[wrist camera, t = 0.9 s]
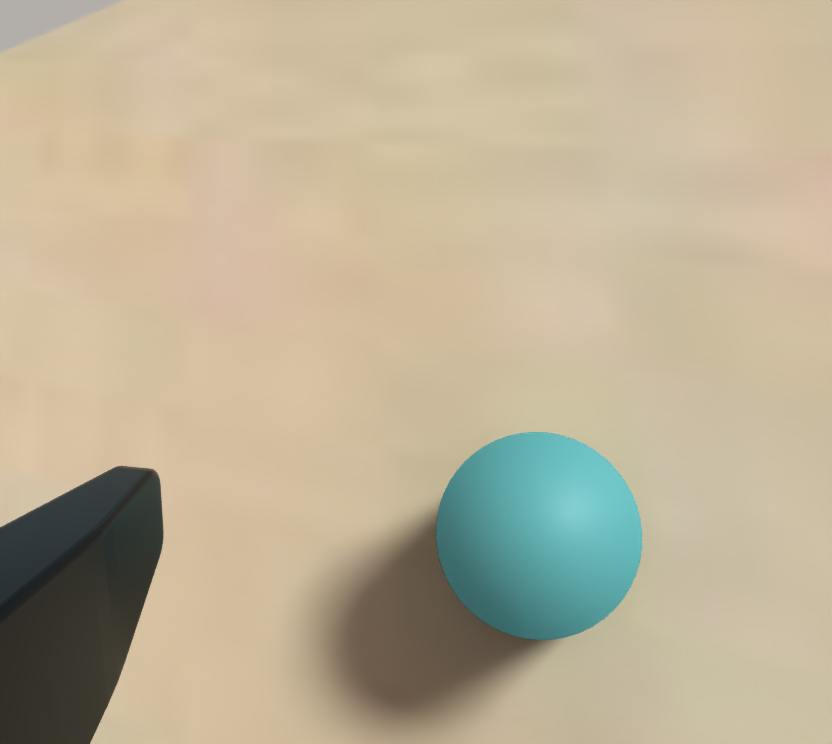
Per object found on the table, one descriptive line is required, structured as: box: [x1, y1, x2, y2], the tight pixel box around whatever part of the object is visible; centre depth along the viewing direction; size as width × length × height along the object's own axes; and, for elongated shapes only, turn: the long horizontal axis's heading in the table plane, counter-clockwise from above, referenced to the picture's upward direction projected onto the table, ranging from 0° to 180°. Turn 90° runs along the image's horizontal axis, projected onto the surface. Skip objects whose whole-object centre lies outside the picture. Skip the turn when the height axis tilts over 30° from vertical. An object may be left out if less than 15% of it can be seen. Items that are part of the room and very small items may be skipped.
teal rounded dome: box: [436, 432, 642, 640], centre depth 22 cm, size 5×5×4 cm
